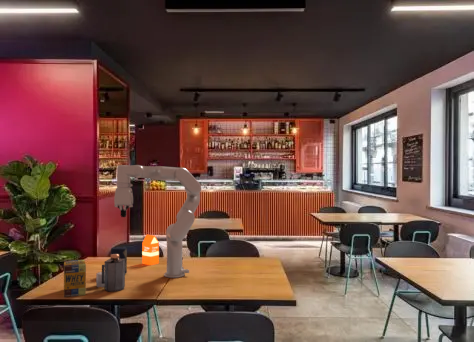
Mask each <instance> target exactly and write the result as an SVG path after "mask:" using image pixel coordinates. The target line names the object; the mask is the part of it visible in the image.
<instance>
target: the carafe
mask: <svg viewBox="0 0 474 342" xmlns="http://www.w3.org/2000/svg"><path fill="white" fill-rule="evenodd" d="M101 272H102V284H105V287H104V291H105V292H107V293H108V292H110V293H114V292H121V291H123V290H125V287H126V274H125V259H118V260H116V261H115V262H114V260H111V258H109V259H107V260H105V261H104V264H102V265H101ZM104 272H105V281H104Z"/></svg>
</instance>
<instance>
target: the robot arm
mask: <svg viewBox="0 0 474 342" xmlns="http://www.w3.org/2000/svg"><path fill="white" fill-rule="evenodd" d="M131 178H136V179H137V178H138V179H140V178H141V179H149V180H150V179H151V180H156V181H167V182H169V181H170V182H179V183H180V185H182V187H184V191H185V192H186V199H185V201H184V202H183V204H182V206H181V208H179V210H178V212H177V214H176V221H175V223H171V224H169V226H167V228H166V231H165V237H166V272H164V273H163V276H164V277H165V278H172V279H175V278H181V277H184V276H185V274H189V273H190V269H187V268H184V266H183V240H184V239H185V238H186V236H187V234H188V233H189V231H190V229H191V228H192V226H193V224H194V222H195V218H196V216H195V213H196V210H197V208H198V206H199V205H200V201H201V191H202V186H201V185H202V184H201V183H200V182H199V181H198V180H197V179H196V178H195V177H194V175H192V173H191V172H190V171H189V170H188V169H187V168H185V167H174V166H161V165H156V166H155V165H154V166H149V165H148V166H147V165H146V166H145V165H140V164H135V165H134V164H133V165H128V164H121V165H119V164H118V165H117V167H116V188H115V190H114V191H115V192H114V200H113V201H114V206H113V207H115V208H117V209H119V211H120V216H121V218H125V217H127V211H128V209H129V208H133V207H134V206H133V204H134V194H133V189H132V188H131V187H133V186H134V185H133V183H131Z"/></svg>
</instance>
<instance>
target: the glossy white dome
mask: <svg viewBox="0 0 474 342" xmlns="http://www.w3.org/2000/svg"><path fill="white" fill-rule="evenodd" d="M95 276H96V277H95V279H96V281H95V283H96V284H95V287H96V288H99V287H102V288H105V284H102V271H100V272H99V271H98V272H97V273H96V275H95ZM104 281H105V271H104Z"/></svg>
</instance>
